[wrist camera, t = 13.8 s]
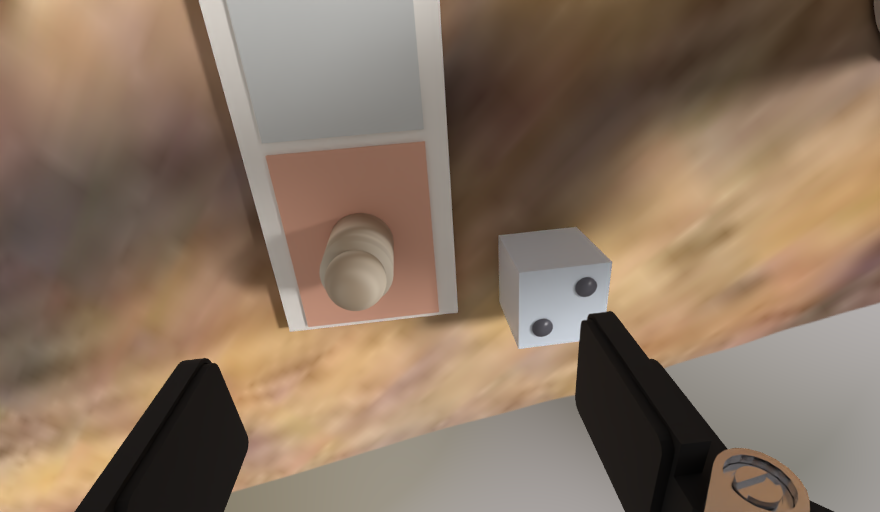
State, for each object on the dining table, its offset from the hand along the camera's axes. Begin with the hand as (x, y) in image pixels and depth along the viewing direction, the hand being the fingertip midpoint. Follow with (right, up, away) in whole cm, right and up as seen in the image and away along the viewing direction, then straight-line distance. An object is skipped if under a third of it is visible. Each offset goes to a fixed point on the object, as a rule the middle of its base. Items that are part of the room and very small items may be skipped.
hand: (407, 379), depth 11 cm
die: (+8, +2, +23) cm, 24 cm away
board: (-5, +11, +17) cm, 21 cm away
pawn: (-5, +4, +19) cm, 20 cm away
